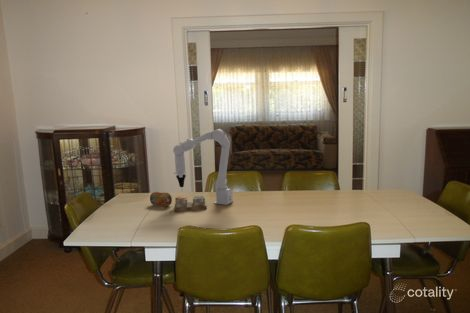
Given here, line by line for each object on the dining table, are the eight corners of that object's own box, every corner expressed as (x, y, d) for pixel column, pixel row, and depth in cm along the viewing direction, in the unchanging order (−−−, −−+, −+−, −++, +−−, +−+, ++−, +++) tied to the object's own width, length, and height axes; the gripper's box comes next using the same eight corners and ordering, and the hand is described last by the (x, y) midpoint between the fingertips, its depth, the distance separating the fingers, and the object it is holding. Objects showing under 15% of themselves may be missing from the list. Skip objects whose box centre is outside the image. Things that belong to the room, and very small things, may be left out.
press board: (205, 204, 213) (204, 194, 212) (206, 209, 204) (206, 198, 203) (175, 206, 211) (174, 197, 210) (174, 211, 201) (174, 201, 200)
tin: (150, 205, 217) (149, 191, 216) (153, 203, 220) (152, 190, 219) (169, 207, 210) (168, 193, 209) (173, 206, 213) (172, 192, 212)
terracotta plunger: (185, 202, 208) (184, 196, 208) (185, 204, 204) (184, 197, 204) (178, 203, 208) (177, 196, 207) (178, 205, 204) (177, 198, 203)
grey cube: (202, 202, 210) (201, 195, 209) (202, 204, 206) (202, 197, 205) (195, 202, 209) (195, 196, 209) (195, 204, 205) (195, 198, 205)
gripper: (173, 163, 220) (175, 184, 222) (173, 167, 206) (174, 190, 208) (185, 162, 221) (186, 183, 223) (185, 166, 207) (187, 189, 209)
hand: (181, 186), depth 216 cm, fingers closed
